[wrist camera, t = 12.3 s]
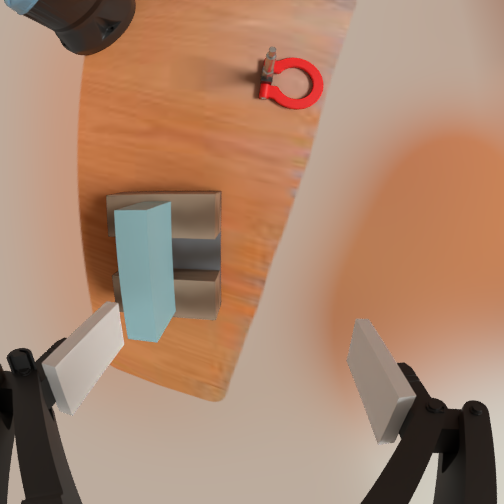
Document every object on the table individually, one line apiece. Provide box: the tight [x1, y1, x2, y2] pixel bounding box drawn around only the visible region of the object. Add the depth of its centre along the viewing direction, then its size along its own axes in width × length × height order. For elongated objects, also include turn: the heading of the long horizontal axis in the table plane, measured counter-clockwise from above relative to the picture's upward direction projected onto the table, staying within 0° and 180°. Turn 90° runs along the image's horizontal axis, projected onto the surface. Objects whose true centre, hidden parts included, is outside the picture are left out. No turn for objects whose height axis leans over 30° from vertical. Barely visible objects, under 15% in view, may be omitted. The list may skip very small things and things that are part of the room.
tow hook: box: [259, 47, 323, 110], centre depth 35 cm, size 8×13×9 cm
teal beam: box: [114, 201, 176, 342], centre depth 38 cm, size 16×4×9 cm, turn 179°
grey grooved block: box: [106, 191, 221, 320], centre depth 45 cm, size 18×16×6 cm
